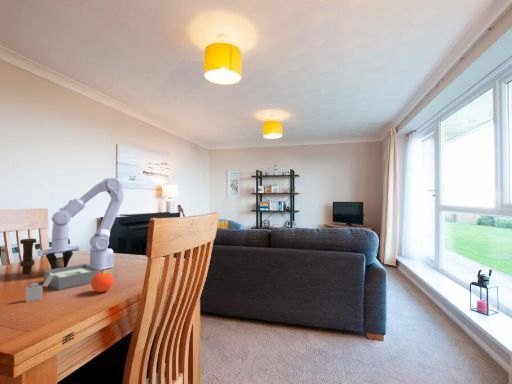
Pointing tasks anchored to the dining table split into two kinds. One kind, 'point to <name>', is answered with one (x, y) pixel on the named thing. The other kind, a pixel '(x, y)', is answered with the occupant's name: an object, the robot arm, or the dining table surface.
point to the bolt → (27, 255)
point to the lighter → (37, 289)
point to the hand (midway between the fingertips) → (58, 269)
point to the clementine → (102, 282)
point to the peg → (59, 262)
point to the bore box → (72, 276)
